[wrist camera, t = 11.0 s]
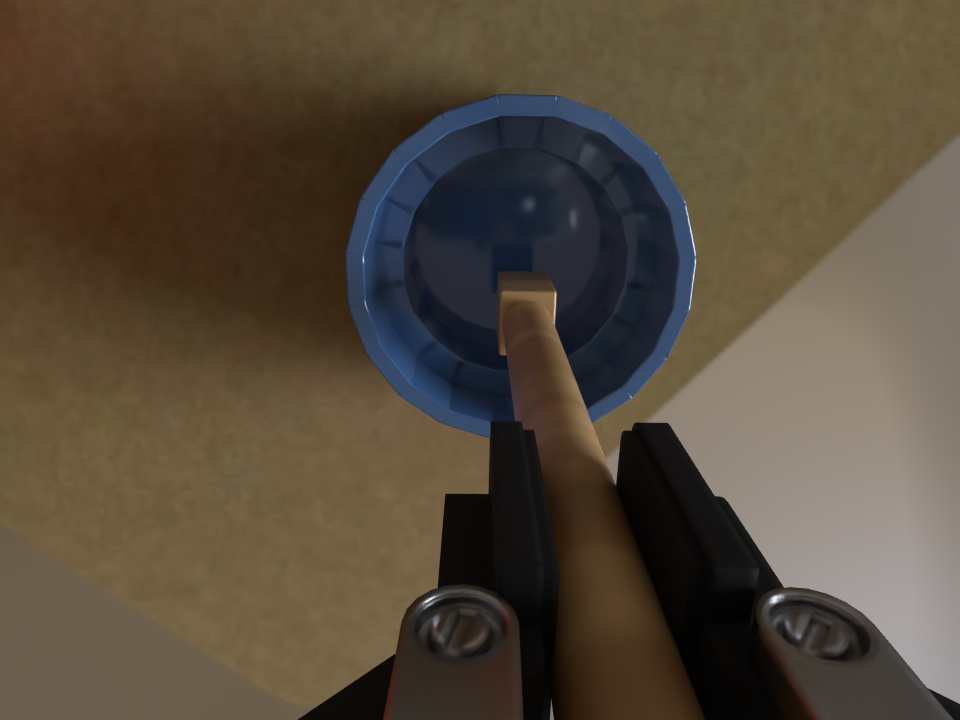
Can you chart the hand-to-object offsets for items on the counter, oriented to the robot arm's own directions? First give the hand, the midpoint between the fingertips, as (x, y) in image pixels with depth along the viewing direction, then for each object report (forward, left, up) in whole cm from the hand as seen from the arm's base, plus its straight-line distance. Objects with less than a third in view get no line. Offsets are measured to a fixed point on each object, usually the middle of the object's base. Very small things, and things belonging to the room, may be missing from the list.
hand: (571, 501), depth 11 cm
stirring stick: (0, 0, -14) cm, 14 cm away
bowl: (-1, 0, -17) cm, 17 cm away
